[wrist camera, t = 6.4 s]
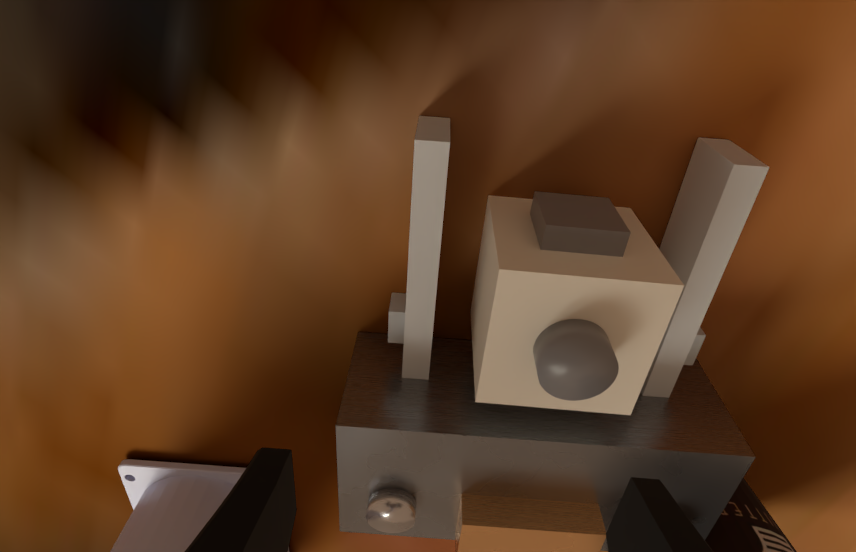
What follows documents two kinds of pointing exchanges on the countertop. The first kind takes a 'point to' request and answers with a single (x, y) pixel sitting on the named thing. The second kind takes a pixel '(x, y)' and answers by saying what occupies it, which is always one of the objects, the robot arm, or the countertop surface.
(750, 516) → the coffee mug
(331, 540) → the countertop surface
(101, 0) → the countertop surface
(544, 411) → the block
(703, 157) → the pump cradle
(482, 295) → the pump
